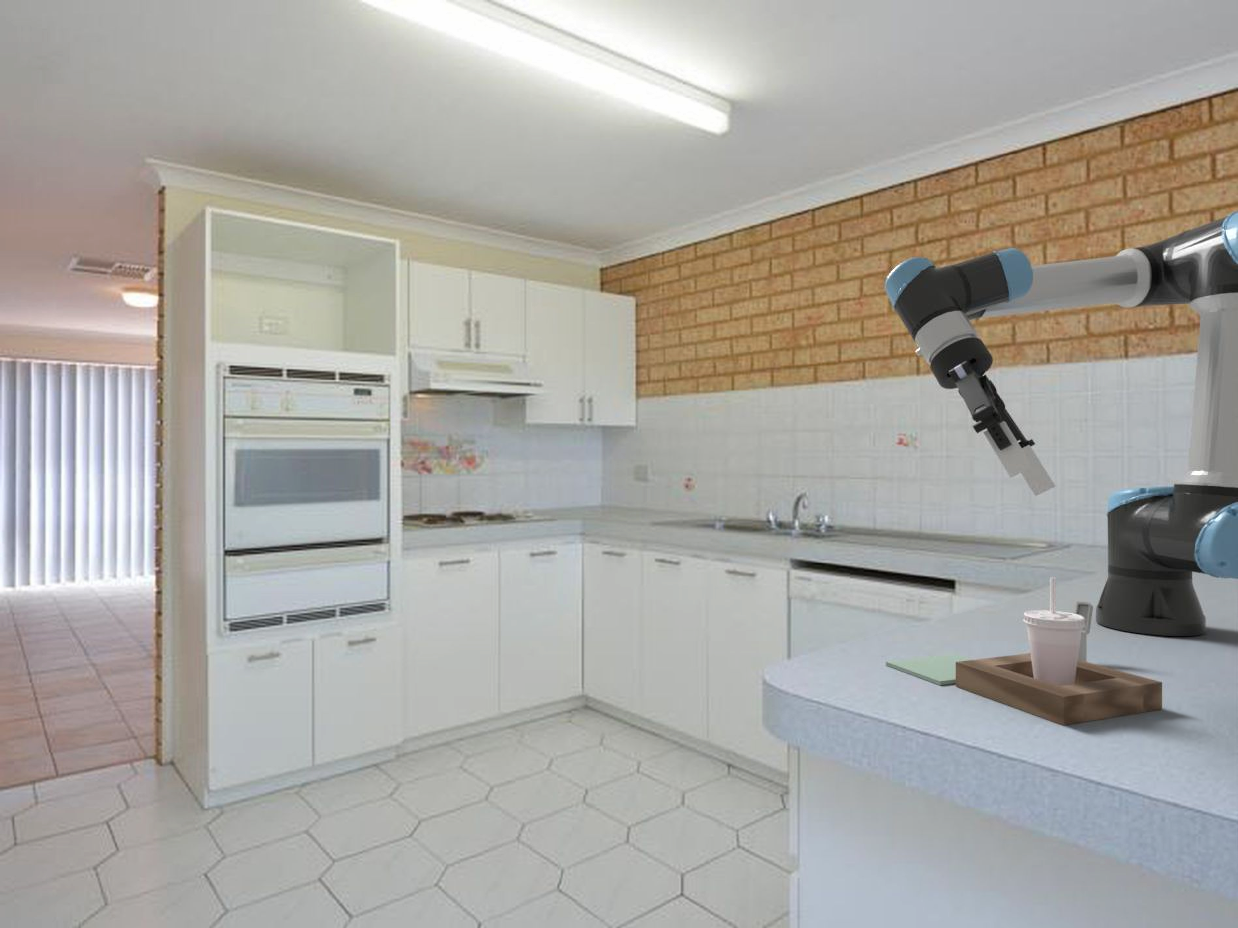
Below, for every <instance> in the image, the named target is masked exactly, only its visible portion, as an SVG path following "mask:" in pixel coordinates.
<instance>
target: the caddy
mask: <svg viewBox="0 0 1238 928" xmlns="http://www.w3.org/2000/svg"><path fill="white" fill-rule="evenodd" d="M955 687H956V688H959V689H963V690H965V691H968V692H970V693H972V694H976V695H978V696H981V697H984V698H987V699H990V700H993V701H995V702H997V703H998V702H999V703H1001V704H1004V705H1006V706H1009V707H1011V708H1015V709H1018V710H1020V711H1023V712H1026V713H1028V714H1031V715H1034V716H1037V717H1039V718H1043V719H1045V720H1048V721H1050V722H1053V723H1056V724H1058V725H1062V726H1067V725H1068V726H1069V725H1074V724H1079V723H1086V722H1091V721H1097V720H1098V721H1100V720H1104V719H1109V718H1116V717H1121V716H1126V715H1128V716H1129V715H1135V714H1140V713H1144V712H1151V711H1152V712H1153V711H1157V710H1162V709H1163V682H1162V681H1159V680H1157V679H1156V680H1155V679H1152V678H1147V677H1144V676H1139V675H1136V674H1133V673H1128V672H1125V671H1121V670H1118V669H1114V668H1110V667H1107V666H1102V665H1099V664H1095V663H1091V662H1088V661H1086V662H1084V661H1081V660H1078V661H1077V668H1076V675H1075V682H1074V684H1071V685H1064V686H1057V685H1054V684H1051V683H1048V682H1045V681H1041V680H1038V679H1035V678H1034V676H1033V668H1032V661H1031V653H1030V652H1029V653H1022V654H1020V653H1019V654H1011V655H1003V656H997V657H996V656H995V657H988V658H979V659H974V660H969V661H960V662H956V683H955Z"/></svg>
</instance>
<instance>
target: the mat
mask: <svg viewBox="0 0 1238 928" xmlns="http://www.w3.org/2000/svg"><path fill="white" fill-rule="evenodd" d="M969 660H975V659H973V658H970V657H967V656H964V655H961V654H957V653H949V654H941V655H933V656H923V657H915V658H907V659H906V658H904V659H895V660H888V661H885V666H887V667H888V668H892V669H895V670H898V671H901V672H902V673H906V674H908V675H911V676H914V677H916V678H919V679H922V680H924V681H926V682H930V683H932V684H936V685H938V686H946V685H953V684H956V662H960V661H969Z"/></svg>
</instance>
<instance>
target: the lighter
mask: <svg viewBox="0 0 1238 928" xmlns="http://www.w3.org/2000/svg"><path fill="white" fill-rule="evenodd" d="M1093 610H1094V606H1093V605H1092V604H1091V603H1090V602H1089V601H1088V602H1086V601H1077V602H1076V604H1075V610H1074V611H1075V613H1074V614H1077V615H1081V616H1083V617H1084V618H1085V627H1084V628H1082V632H1081V641H1080V647H1079V654H1078V660H1081V661H1084V662H1087V635H1089V634H1090V633H1091V627H1092V626H1091V624H1092V619H1093V612H1094V611H1093Z"/></svg>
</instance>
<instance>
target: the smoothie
mask: <svg viewBox="0 0 1238 928" xmlns="http://www.w3.org/2000/svg"><path fill="white" fill-rule="evenodd" d="M1056 583H1057V579H1056V577H1053V576H1051V577H1050V579H1049V590H1050V592H1049V593H1050V594H1049V597H1050V599H1049V607H1050V608H1049V610H1047V609H1045V610H1044V609H1038V610H1037V609H1036V610H1035V609H1034V610H1027V611H1024V612H1023V619H1022V620H1023V622H1024V623H1025V624H1026V628H1027V629H1026V630H1027V639H1028V645H1029V653H1031V661H1032V668H1033V676H1034V678H1035V679H1038V680H1041V681H1045V682H1048V683H1051V684H1054V685H1057V686H1064V685H1071V684H1074V682H1075V675H1076V668H1077V661H1078V654H1079V647H1080V641H1081V632H1082V628H1084V627H1085V618H1084V617H1083V616H1081V615H1077V614H1075V613H1072V612H1067V611H1060V610H1056V609H1057V608H1056V606H1057V605H1056V601H1057V600H1056V597H1057V596H1056V593H1057V592H1056V591H1057V590H1056V588H1057V586H1056Z"/></svg>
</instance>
